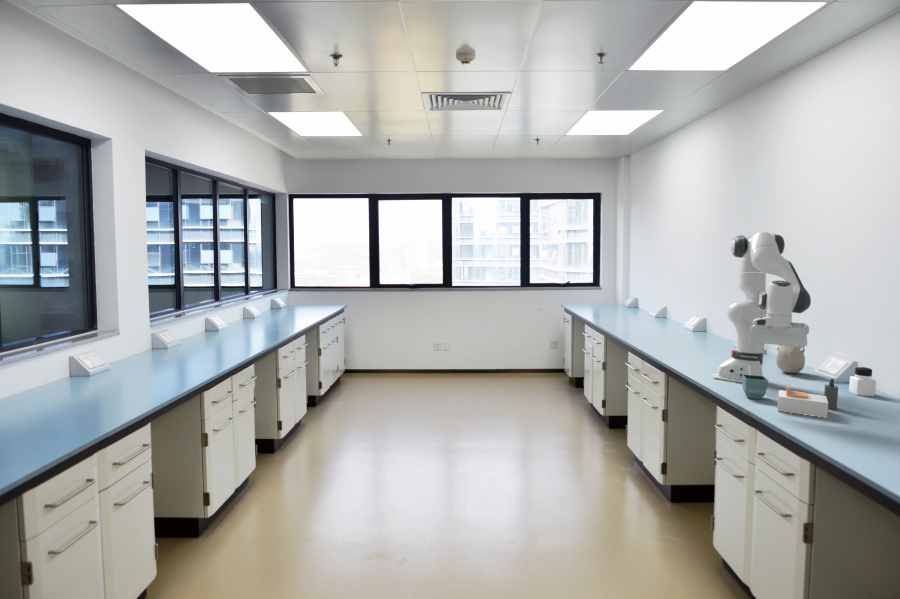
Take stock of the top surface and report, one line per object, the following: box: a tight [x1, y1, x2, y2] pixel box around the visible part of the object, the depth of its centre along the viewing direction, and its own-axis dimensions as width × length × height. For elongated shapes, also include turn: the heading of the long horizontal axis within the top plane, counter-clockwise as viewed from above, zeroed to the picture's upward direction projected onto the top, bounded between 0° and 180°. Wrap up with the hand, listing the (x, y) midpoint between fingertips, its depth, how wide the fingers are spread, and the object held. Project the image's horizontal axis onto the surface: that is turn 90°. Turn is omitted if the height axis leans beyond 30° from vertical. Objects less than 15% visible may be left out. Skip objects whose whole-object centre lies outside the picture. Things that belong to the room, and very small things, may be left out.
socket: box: [777, 389, 829, 419], centre depth 214 cm, size 16×12×6 cm
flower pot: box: [741, 375, 769, 400], centre depth 233 cm, size 9×9×9 cm
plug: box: [823, 378, 839, 411], centre depth 218 cm, size 4×4×12 cm
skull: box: [775, 345, 806, 374], centre depth 280 cm, size 13×15×20 cm
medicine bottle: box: [848, 366, 877, 397], centre depth 241 cm, size 7×7×12 cm
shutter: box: [785, 383, 808, 399], centre depth 214 cm, size 7×7×3 cm
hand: (776, 355), depth 217 cm, fingers open, 7 cm apart
